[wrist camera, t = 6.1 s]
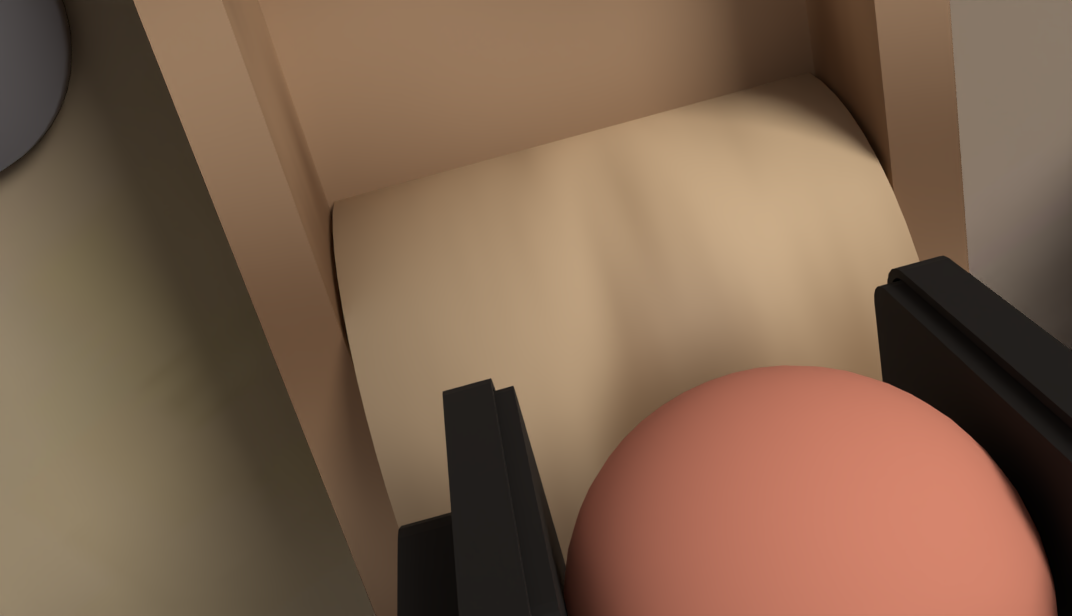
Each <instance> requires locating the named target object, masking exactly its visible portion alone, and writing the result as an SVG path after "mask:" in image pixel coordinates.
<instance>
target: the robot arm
mask: <svg viewBox="0 0 1072 616" xmlns="http://www.w3.org/2000/svg"><path fill="white" fill-rule="evenodd" d="M874 305H875V314H876V324H877V333H878V343H879V352H880V362H881V371H882V380H883V382H885V383H888V384H890V385H892V386H895V387H897V388H899V389H901V390H903V391H905V392H908V393H910V394H912V395H914V396H915V397H917V398H919V399H920V400H922V401H924V402H926V403H927V404H929V405H931V406H932V407H934V408H935V409H937V410H938V411H940V412H941V413H943V414H944V415H946V416H947V417H949V418H950V419H951V420H953V421H954V422H955V423H956V424H957V425H958V426H959V427H961V428H962V429H963V430H964V431H965V432H966V433H967V434H969V435H970V436H971V437H972V438H973V439H974V440H975V441H976V442H977V443H978V444H979V445H980V446H982V447H983V448H984V449H985V450H986V451H987V452H988V454H989V455H990V456H991V457H992V459H993V460H994V461H995V462H996V464H997V465H998V466H999V467H1000V469H1001V470H1002V471H1003V473H1004V474H1005V475H1006V477H1007V478H1008V479H1009V481H1010V482H1011V483H1012V484H1013V486H1014V487H1015V488H1016V490H1017V492H1018V494H1019V495H1020V497H1021V499H1022V501H1023V503H1024V505H1025V507H1026V508H1027V510H1028V512H1029V514H1030V516H1031V518H1032V520H1033V522H1034V524H1035V526H1036V528H1037V530H1038V532H1039V534H1040V537H1041V540H1042V543H1043V547H1044V550H1045V553H1046V556H1047V559H1048V562H1049V566H1050V569H1051V573H1052V576H1053V579H1054V587H1055V595H1056V603H1057V612H1058V616H1072V350H1070V349H1068V348H1067V347H1066V346H1064V345H1063V344H1062V343H1060V342H1059V341H1058V340H1056V339H1055V338H1054V337H1052V336H1051V335H1050V334H1049V333H1047V332H1046V331H1045V330H1043V329H1042V328H1041V327H1039V326H1038V325H1037V324H1035V323H1034V322H1033V321H1031V320H1030V319H1029V318H1027V317H1026V316H1025V315H1024V314H1022V313H1021V312H1020V311H1018V310H1017V309H1016V308H1014V307H1013V306H1012V305H1010V304H1009V303H1008V302H1006V301H1005V300H1004V299H1002V298H1001V297H1000V296H999V295H997V294H996V293H995V292H993V291H992V290H991V289H989V288H988V287H987V286H985V285H984V284H983V283H981V282H980V281H979V280H977V279H976V278H975V277H973V276H972V275H971V274H970V273H968V272H967V271H966V270H964V269H963V268H962V267H960V266H959V265H958V264H956V263H955V262H954V261H952V260H951V259H950V258H948V257H946V256H944V255H943V256H938V257H934V258H931V259H927V260H923V261H920V262H916V263H912V264H909V265H905V266H901V267H898V268H894V269H891V271H890V272H889V274H888V279H887V284H885V285H881V286H878V287H877V288H876V289H875V293H874ZM442 397H443V410H444V423H445V437H446V450H447V463H448V477H449V490H450V503H451V512H450V513H446V514H443V515H439V516H435V517H432V518H428V519H424V520H421V521H417V522H413V523H410V524H406V525H402V526H401V527H400V528H399V530H398V554H397V616H568V614H567V610H566V605H565V600H564V580H565V570H566V565H565V561H564V558H563V554H562V551H561V547H560V544H559V540H558V537H557V533H556V530H555V526H554V523H553V520H552V516H551V513H550V509H549V506H548V502H547V499H546V495H545V492H544V488H543V485H542V481H541V478H540V475H539V471H538V468H537V464H536V461H535V457H534V454H533V450H532V447H531V443H530V440H529V436H528V433H527V430H526V426H525V423H524V419H523V416H522V412H521V409H520V405H519V402H518V398H517V395H516V392H515V389H514V386H510V387H507V388H503V389H499V390H495V387H494V384H493V381H492V379H491V378H490V379H486V380H482V381H479V382H475V383H471V384H468V385H464V386H460V387H457V388H453V389H449V390H446V391H443V393H442Z"/></svg>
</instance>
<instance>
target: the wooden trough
mask: <svg viewBox="0 0 1072 616" xmlns="http://www.w3.org/2000/svg"><path fill="white" fill-rule="evenodd" d="M133 1H134V4H135V6H136V9H137V11H138V14H139V17H140V19H141V22H142V24H143V27H144V29H145V32H146V34H147V37H148V39H149V42H150V44H151V47H152V49H153V52H154V55H155V57H156V60H157V62H158V65H159V67H160V70H161V72H162V75H163V77H164V80H165V82H166V85H167V88H168V90H169V93H170V95H171V98H172V100H173V103H174V105H175V108H176V110H177V113H178V115H179V118H180V120H181V123H182V126H183V128H184V131H185V133H186V136H187V138H188V141H189V143H190V146H191V148H192V151H193V153H194V156H195V159H196V161H197V164H198V166H199V169H200V171H201V174H202V176H203V179H204V181H205V184H206V186H207V189H208V191H209V194H210V197H211V199H212V202H213V204H214V207H215V209H216V212H217V214H218V217H219V219H220V222H221V224H222V227H223V230H224V232H225V235H226V237H227V240H228V242H229V245H230V247H231V250H232V252H233V255H234V257H235V260H236V262H237V265H238V268H239V270H240V273H241V275H242V278H243V280H244V283H245V285H246V288H247V290H248V293H249V295H250V298H251V301H252V303H253V306H254V308H255V311H256V313H257V316H258V318H259V321H260V323H261V326H262V328H263V331H264V333H265V336H266V339H267V341H268V344H269V346H270V349H271V351H272V354H273V356H274V359H275V361H276V364H277V366H278V369H279V372H280V374H281V377H282V379H283V382H284V384H285V387H286V389H287V392H288V394H289V397H290V399H291V402H292V404H293V407H294V410H295V412H296V415H297V417H298V420H299V422H300V425H301V427H302V430H303V432H304V435H305V437H306V440H307V443H308V445H309V448H310V450H311V453H312V455H313V458H314V460H315V463H316V465H317V468H318V470H319V473H320V475H321V478H322V481H323V483H324V486H325V488H326V491H327V493H328V496H329V498H330V501H331V503H332V506H333V508H334V511H335V514H336V516H337V519H338V521H339V524H340V526H341V529H342V531H343V534H344V536H345V539H346V541H347V544H348V546H349V549H350V552H351V554H352V557H353V559H354V562H355V564H356V567H357V569H358V572H359V574H360V577H361V579H362V582H363V585H364V587H365V590H366V592H367V595H368V597H369V600H370V602H371V605H372V607H373V610H374V612H375V615H376V616H397V554H398V530H399V528H400V527H401V526H402V525H406V524H410V523H413V522H417V521H421V520H424V519H428V518H432V517H435V516H439V515H443V514H446V513H450V512H451V503H450V490H449V477H448V463H447V450H446V437H445V423H444V410H443V397H442V393H443V391H446V390H449V389H453V388H457V387H460V386H464V385H468V384H471V383H475V382H479V381H482V380H486V379H490V378H491V379H492V381H493V384H494V387H495V390H499V389H503V388H507V387H510V386H514V389H515V392H516V395H517V398H518V402H519V405H520V409H521V412H522V416H523V419H524V423H525V426H526V430H527V433H528V436H529V440H530V443H531V447H532V450H533V454H534V457H535V461H536V464H537V468H538V471H539V475H540V478H541V481H542V485H543V488H544V492H545V495H546V499H547V502H548V506H549V509H550V513H551V516H552V520H553V523H554V526H555V530H556V533H557V537H558V540H559V544H560V547H561V551H562V554H563V558H564V561H565V565H566V562H567V554H568V548H569V544H570V541H571V537H572V534H573V530H574V526H575V523H576V520H577V517H578V513H579V510H580V508H581V506H582V503H583V501H584V499H585V497H586V494H587V492H588V490H589V488H590V486H591V485H592V483H593V481H594V480H595V478H596V476H597V475H598V473H599V472H600V470H601V468H602V467H603V465H604V464H605V462H606V461H607V459H608V457H609V456H610V455H611V454H612V452H613V451H614V450H615V449H616V447H617V446H618V445H619V444H620V443H621V441H622V440H623V439H624V438H625V437H626V436H627V435H628V434H629V433H630V432H631V431H632V430H633V429H634V428H635V427H636V426H637V425H638V424H639V423H640V422H641V421H642V420H644V419H645V418H646V417H648V416H649V415H650V414H651V413H653V412H654V411H655V410H657V409H658V408H659V407H661V406H662V405H664V404H665V403H667V402H669V401H670V400H672V399H674V398H675V397H677V396H679V395H680V394H682V393H683V392H685V391H688V390H690V389H692V388H694V387H696V386H699V385H701V384H703V383H705V382H707V381H710V380H713V379H716V378H719V377H722V376H725V375H728V374H731V373H735V372H740V371H745V370H749V369H754V368H760V367H771V366H781V365H788V366H816V367H826V368H832V369H839V370H845V371H849V372H853V373H856V374H859V375H863V376H866V377H870V378H873V379H876V380H879V381H882V382H883V380H882V371H881V362H880V352H879V343H878V333H877V324H876V314H875V305H874V293H875V289H876V288H877V287H878V286H881V285H885V284H887V279H888V274H889V272H890V271H891V269H894V268H898V267H901V266H905V265H909V264H912V263H916V262H920V261H923V260H927V259H931V258H934V257H938V256H943V255H944V256H946V257H948V258H950V259H951V260H952V261H954V262H955V263H956V264H958V265H959V266H960V267H962V268H963V269H964V270H966V271H967V272H968V273H969V264H968V250H967V237H966V223H965V209H964V195H963V181H962V167H961V154H960V140H959V126H958V112H957V98H956V84H955V70H954V57H953V43H952V29H951V15H950V1H949V0H133Z"/></svg>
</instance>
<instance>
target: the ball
mask: <svg viewBox="0 0 1072 616" xmlns="http://www.w3.org/2000/svg"><path fill="white" fill-rule="evenodd" d="M564 600H565V605H566V610H567V614H568V616H1058V612H1057V603H1056V595H1055V587H1054V579H1053V576H1052V573H1051V569H1050V566H1049V562H1048V559H1047V556H1046V553H1045V550H1044V547H1043V543H1042V540H1041V537H1040V534H1039V532H1038V530H1037V528H1036V526H1035V524H1034V522H1033V520H1032V518H1031V516H1030V514H1029V512H1028V510H1027V508H1026V507H1025V505H1024V503H1023V501H1022V499H1021V497H1020V495H1019V494H1018V492H1017V490H1016V488H1015V487H1014V486H1013V484H1012V483H1011V482H1010V481H1009V479H1008V478H1007V477H1006V475H1005V474H1004V473H1003V471H1002V470H1001V469H1000V467H999V466H998V465H997V464H996V462H995V461H994V460H993V459H992V457H991V456H990V455H989V454H988V452H987V451H986V450H985V449H984V448H983V447H982V446H980V445H979V444H978V443H977V442H976V441H975V440H974V439H973V438H972V437H971V436H970V435H969V434H967V433H966V432H965V431H964V430H963V429H962V428H961V427H959V426H958V425H957V424H956V423H955V422H954V421H953V420H951V419H950V418H949V417H947V416H946V415H944V414H943V413H941V412H940V411H938V410H937V409H935V408H934V407H932V406H931V405H929V404H927V403H926V402H924V401H922V400H920V399H919V398H917V397H915V396H914V395H912V394H910V393H908V392H905V391H903V390H901V389H899V388H897V387H895V386H892V385H890V384H888V383H885V382H882V381H879V380H876V379H873V378H870V377H866V376H863V375H859V374H856V373H853V372H849V371H845V370H839V369H832V368H826V367H816V366H788V365H781V366H771V367H760V368H754V369H749V370H745V371H740V372H735V373H731V374H728V375H725V376H722V377H719V378H716V379H713V380H710V381H707V382H705V383H703V384H701V385H699V386H696V387H694V388H692V389H690V390H688V391H685V392H683V393H682V394H680V395H679V396H677V397H675V398H674V399H672V400H670V401H669V402H667V403H665V404H664V405H662V406H661V407H659V408H658V409H657V410H655V411H654V412H653V413H651V414H650V415H649V416H648V417H646V418H645V419H644V420H642V421H641V422H640V423H639V424H638V425H637V426H636V427H635V428H634V429H633V430H632V431H631V432H630V433H629V434H628V435H627V436H626V437H625V438H624V439H623V440H622V441H621V443H620V444H619V445H618V446H617V447H616V449H615V450H614V451H613V452H612V454H611V455H610V456H609V457H608V459H607V461H606V462H605V464H604V465H603V467H602V468H601V470H600V472H599V473H598V475H597V476H596V478H595V480H594V481H593V483H592V485H591V486H590V488H589V490H588V492H587V494H586V497H585V499H584V501H583V503H582V506H581V508H580V510H579V513H578V517H577V520H576V523H575V526H574V530H573V534H572V537H571V541H570V544H569V548H568V554H567V562H566V570H565V580H564Z"/></svg>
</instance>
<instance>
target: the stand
mask: <svg viewBox="0 0 1072 616" xmlns="http://www.w3.org/2000/svg"><path fill="white" fill-rule="evenodd" d="M71 55H72V49H71V37H70V28H69V24H68V19H67V15H66V10H65V7H64V4H63V1H62V0H0V171H2V170H4V169H5V168H7V167H8V166H9V165H11V164H12V163H14V162H15V161H16V160H18V159H19V158H21V157H22V156H23V155H25V154H26V153H27V152H28V151H29V150H30V149H31V148H32V147H33V146H34V145H35V144H37V143H38V142H39V141H40V140H41V138H42V137H43V136H44V134H45V133H46V132H47V130H48V129H49V128H50V126H51V125H52V123H53V121H54V120H55V118H56V116H57V114H58V112H59V110H60V108H61V106H62V103H63V100H64V97H65V94H66V92H67V87H68V82H69V77H70V72H71Z"/></svg>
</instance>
